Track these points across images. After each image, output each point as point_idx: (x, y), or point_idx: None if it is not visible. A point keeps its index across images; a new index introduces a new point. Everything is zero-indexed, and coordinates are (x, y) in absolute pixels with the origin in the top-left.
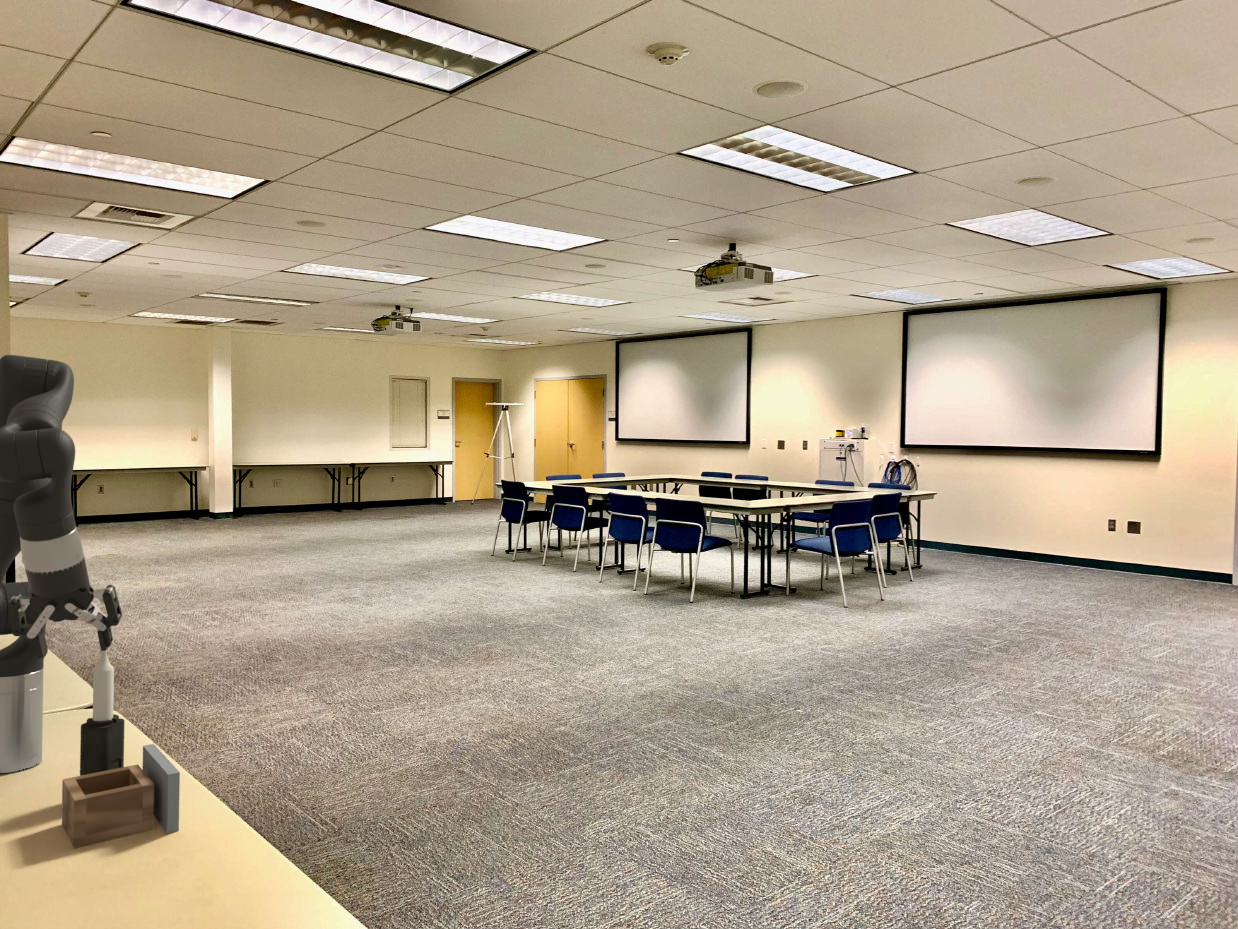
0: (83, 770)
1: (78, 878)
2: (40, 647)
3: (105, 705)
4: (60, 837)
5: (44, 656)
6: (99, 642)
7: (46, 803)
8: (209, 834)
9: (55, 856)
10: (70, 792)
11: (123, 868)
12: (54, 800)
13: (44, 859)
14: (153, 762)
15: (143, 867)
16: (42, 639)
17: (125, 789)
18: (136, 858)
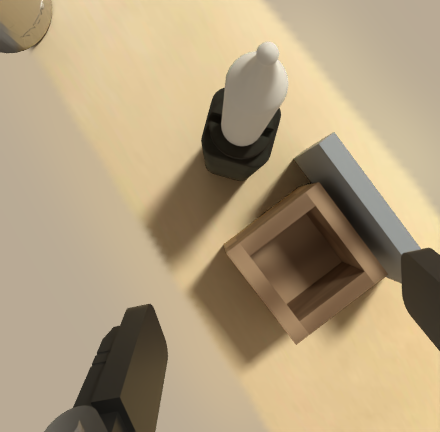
0: (215, 168)
1: (328, 395)
2: (158, 405)
3: (260, 133)
4: (244, 284)
5: (163, 341)
6: (437, 347)
7: (160, 170)
8: None
9: (268, 339)
10: (271, 311)
11: (369, 371)
12: (165, 159)
13: (259, 347)
14: (365, 211)
15: (392, 368)
16: (143, 396)
17: (352, 297)
18: (372, 345)
